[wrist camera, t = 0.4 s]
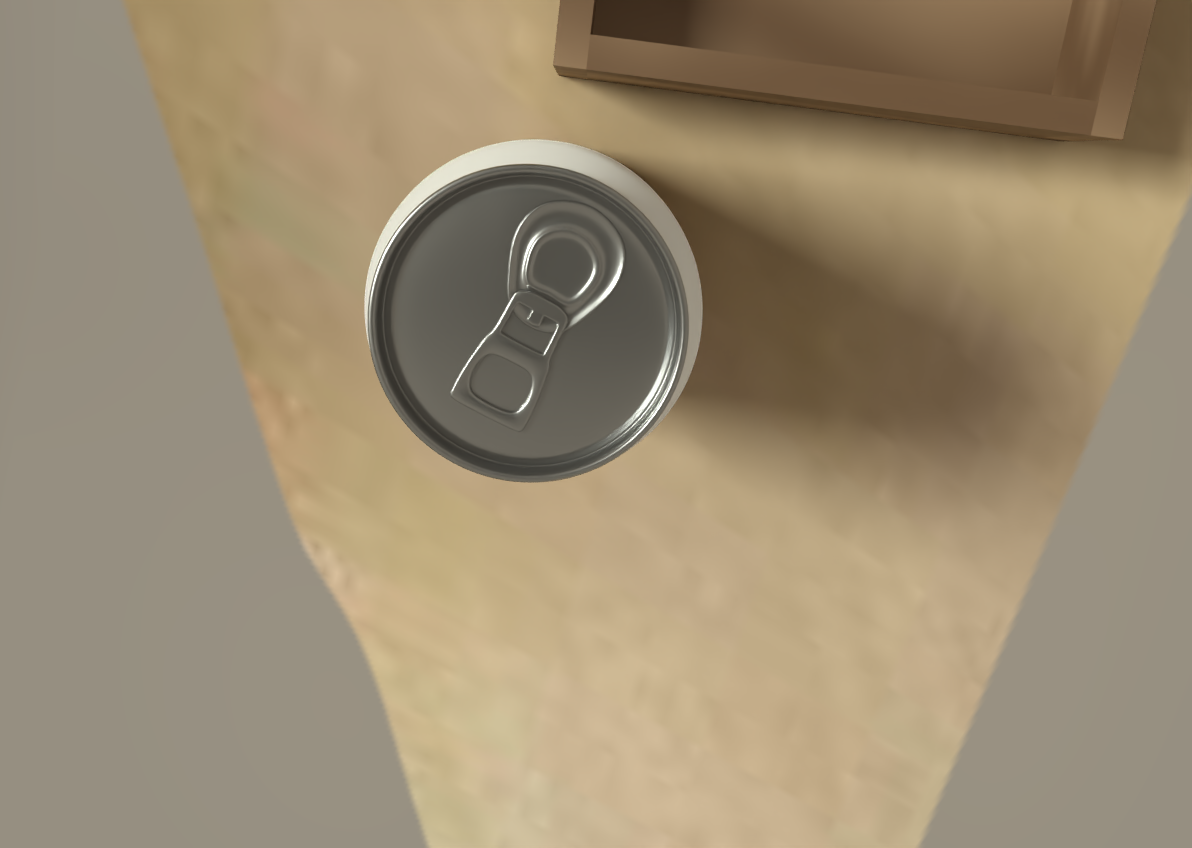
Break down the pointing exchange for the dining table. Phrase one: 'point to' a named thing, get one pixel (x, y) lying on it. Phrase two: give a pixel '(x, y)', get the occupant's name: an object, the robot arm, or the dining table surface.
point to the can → (533, 310)
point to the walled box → (879, 57)
